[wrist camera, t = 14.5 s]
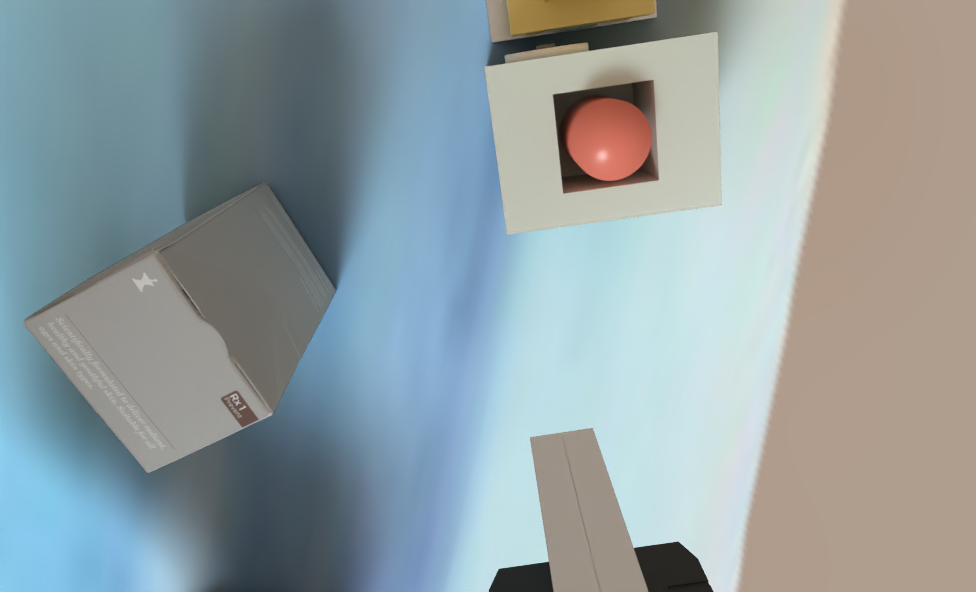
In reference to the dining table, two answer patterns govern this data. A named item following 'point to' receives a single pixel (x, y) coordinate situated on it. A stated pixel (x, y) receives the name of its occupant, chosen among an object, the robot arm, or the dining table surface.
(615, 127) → the button
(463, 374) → the dining table surface
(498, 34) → the rail base
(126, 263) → the skincare box
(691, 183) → the cabinet
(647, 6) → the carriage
